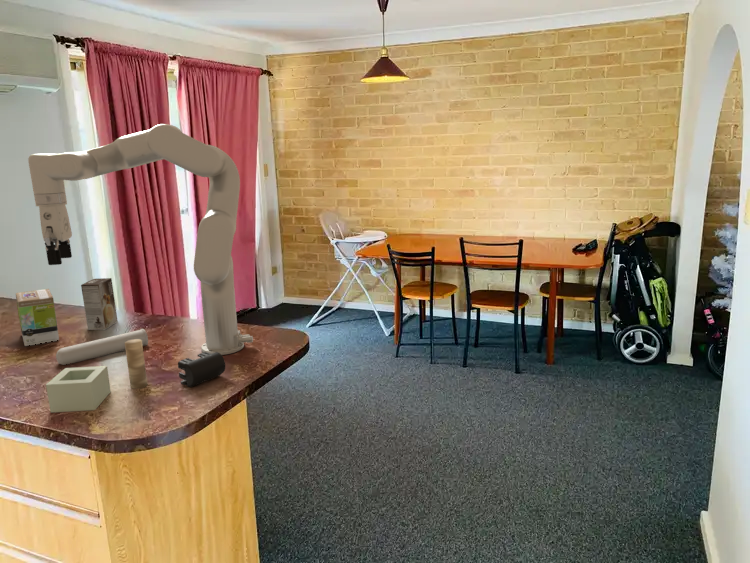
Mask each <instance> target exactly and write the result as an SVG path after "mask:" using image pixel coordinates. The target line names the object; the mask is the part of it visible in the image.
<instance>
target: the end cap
mask: <svg viewBox="0 0 750 563" xmlns="http://www.w3.org/2000/svg"><path fill="white" fill-rule="evenodd" d="M197 357H199V358H195V359H191V358H188V357H186V358H184V359H181V360H179V361H178V362H177V368H178V369H180V370H183V371H184V373H183V372H178V377H179V379H180V380H181V381H180V384H181V385H183V386H185V385H186V387H188V388H193V387H195V386H198V385H200V384H202V383H206V382H208V381H209V380H212V379H215V378H217V377H219V376H221V375H222V374H223V373H224V372H225V370H226V361H225V358H224V357H223V355H221V354H220V353H219V352H215V353H212V354H211V353H208V352H201V353H198V354H197Z"/></svg>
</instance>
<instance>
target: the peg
mask: <svg viewBox="0 0 750 563" xmlns="http://www.w3.org/2000/svg"><path fill="white" fill-rule="evenodd" d="M143 347H144V346H142V340H140V339H133V340H128V341H126V342H125V349H126V350H125V354H126V363H127V369H128V377H129V384H130V389H132V390H139V389H143V388H145V387H147V386H148V380H147V379H148V378H147V371H146V364H145V354H144V348H143Z"/></svg>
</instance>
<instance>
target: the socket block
mask: <svg viewBox="0 0 750 563" xmlns="http://www.w3.org/2000/svg"><path fill="white" fill-rule="evenodd" d="M45 388H46V394H47V399H48V404H49V410H50V411H49V412H50V413H64V412H66V413H67V412H69V413H70V412H82V411H84V412H85V411H96V409H97V408H98V407H99V406H100V405H101V404H102V402H103V401H104V400H105V399H106V398H107V397H108V396H109V394H110V393H111V392H112V391H111V384H110V378H109V370H108V366H107V365H103V366H101V365H99V366H96V365H95V366H81V367H64V369H62V370H61V371H60V372H59V373H58V374H57V375H55V376H54V377H53V378H52V379H51V380H50V381H49V382H47V383H46V384H45Z"/></svg>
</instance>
